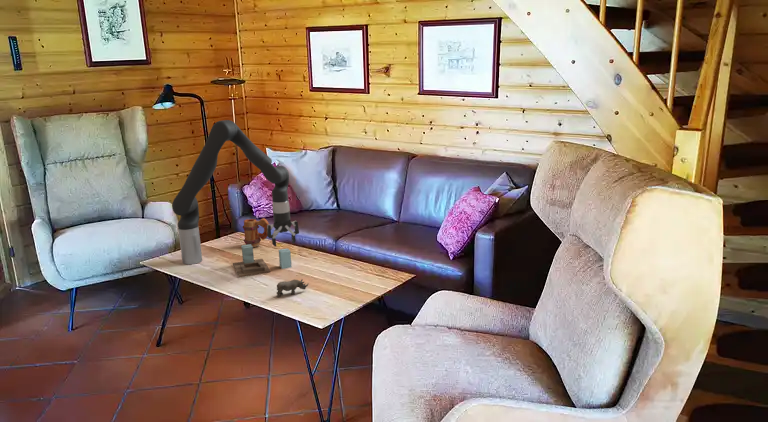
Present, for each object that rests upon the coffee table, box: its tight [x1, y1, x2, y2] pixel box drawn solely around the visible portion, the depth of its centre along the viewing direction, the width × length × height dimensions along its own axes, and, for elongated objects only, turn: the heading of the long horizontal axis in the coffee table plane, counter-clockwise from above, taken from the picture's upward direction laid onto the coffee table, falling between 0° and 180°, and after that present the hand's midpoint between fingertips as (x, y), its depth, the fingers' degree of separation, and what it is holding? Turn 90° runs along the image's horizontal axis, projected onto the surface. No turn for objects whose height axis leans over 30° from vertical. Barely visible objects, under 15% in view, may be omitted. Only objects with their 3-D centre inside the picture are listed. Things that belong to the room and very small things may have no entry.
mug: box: [242, 217, 270, 248], centre depth 295 cm, size 15×8×15 cm, turn 80°
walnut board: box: [232, 244, 271, 278], centre depth 264 cm, size 18×14×9 cm
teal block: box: [278, 248, 293, 270], centre depth 265 cm, size 4×4×8 cm
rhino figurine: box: [276, 278, 310, 298], centre depth 234 cm, size 4×14×6 cm, turn 113°
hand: (284, 244), depth 263 cm, fingers open, 8 cm apart
